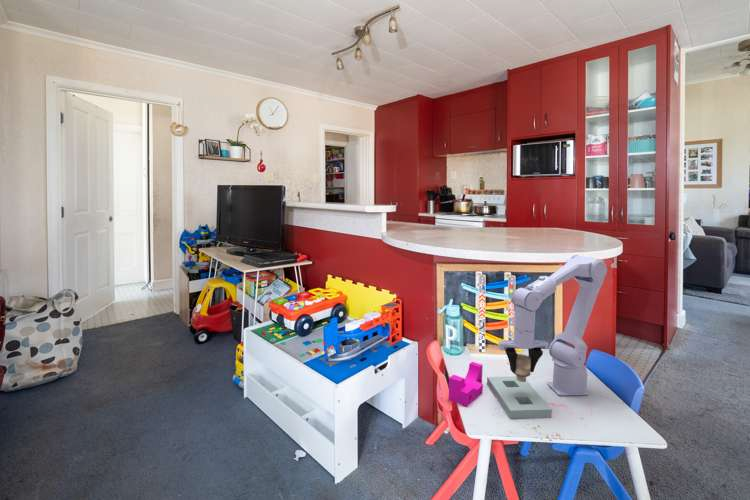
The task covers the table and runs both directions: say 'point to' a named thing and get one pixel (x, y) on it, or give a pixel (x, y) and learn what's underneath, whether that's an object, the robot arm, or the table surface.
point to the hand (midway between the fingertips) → (521, 371)
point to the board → (518, 398)
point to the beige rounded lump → (522, 367)
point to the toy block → (466, 385)
